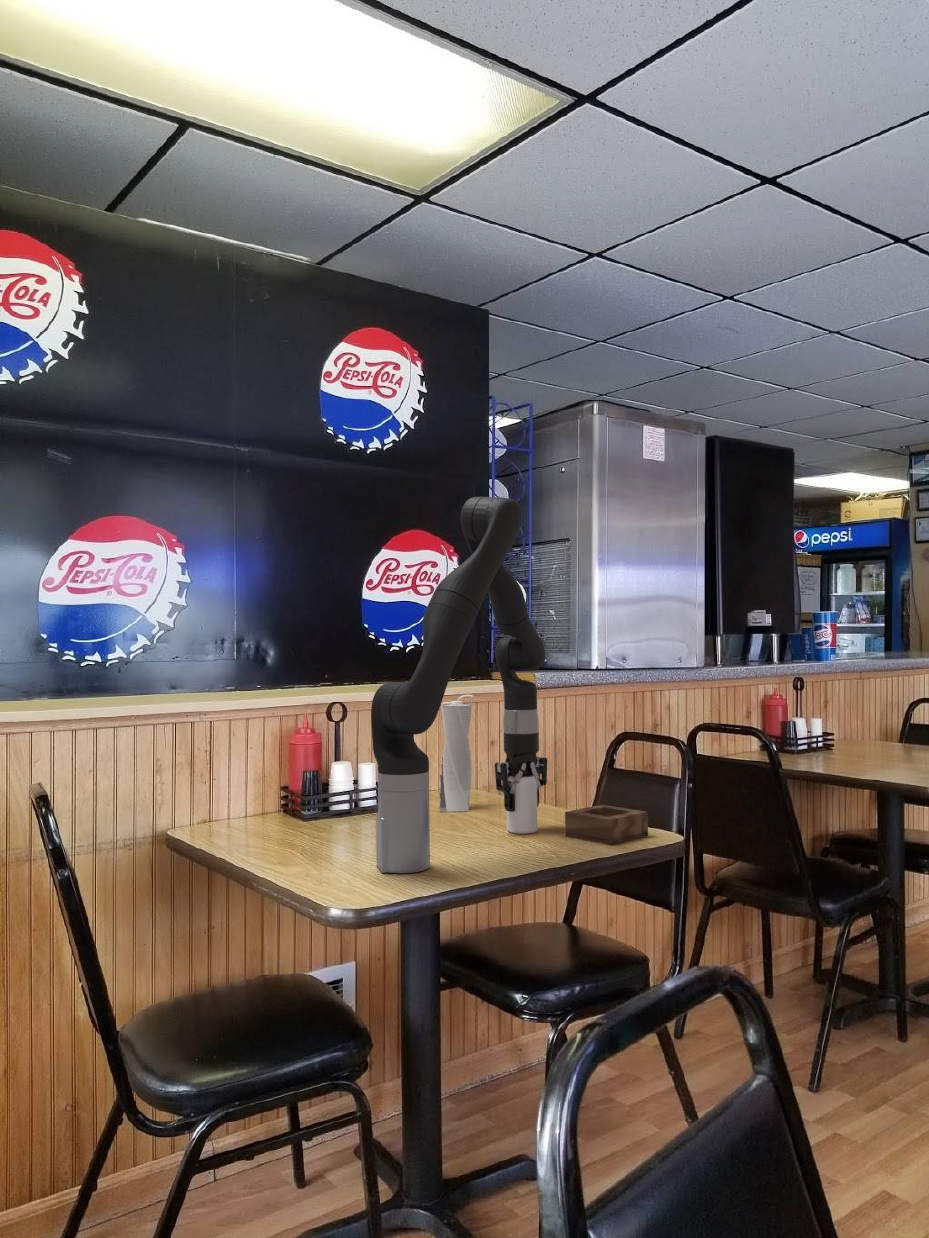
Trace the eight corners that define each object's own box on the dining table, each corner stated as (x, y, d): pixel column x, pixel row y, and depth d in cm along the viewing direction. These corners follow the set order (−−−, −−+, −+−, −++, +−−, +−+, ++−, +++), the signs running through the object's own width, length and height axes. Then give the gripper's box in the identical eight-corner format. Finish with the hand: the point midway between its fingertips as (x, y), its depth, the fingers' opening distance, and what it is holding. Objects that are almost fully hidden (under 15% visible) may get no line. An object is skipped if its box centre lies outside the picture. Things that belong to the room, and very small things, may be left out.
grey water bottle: (473, 807, 228) (472, 693, 229) (475, 813, 220) (474, 695, 221) (439, 808, 228) (438, 694, 229) (440, 814, 220) (438, 695, 221)
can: (535, 834, 194) (534, 777, 194) (504, 834, 195) (504, 776, 196) (539, 828, 200) (538, 772, 201) (509, 827, 202) (508, 772, 202)
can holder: (611, 845, 183) (610, 819, 183) (565, 836, 192) (565, 811, 192) (648, 835, 191) (647, 811, 192) (602, 827, 200) (602, 804, 200)
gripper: (509, 734, 191) (511, 815, 190) (556, 729, 200) (558, 806, 200) (484, 731, 196) (485, 811, 196) (531, 727, 206) (532, 802, 206)
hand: (522, 808), depth 198 cm, fingers open, 6 cm apart
